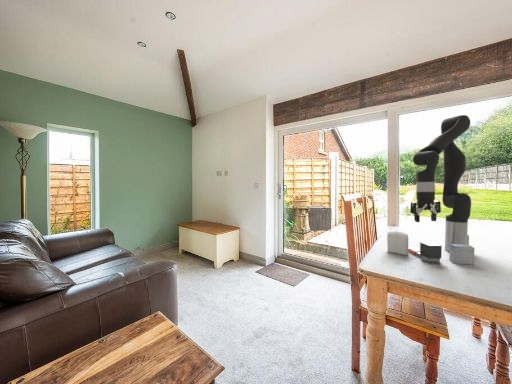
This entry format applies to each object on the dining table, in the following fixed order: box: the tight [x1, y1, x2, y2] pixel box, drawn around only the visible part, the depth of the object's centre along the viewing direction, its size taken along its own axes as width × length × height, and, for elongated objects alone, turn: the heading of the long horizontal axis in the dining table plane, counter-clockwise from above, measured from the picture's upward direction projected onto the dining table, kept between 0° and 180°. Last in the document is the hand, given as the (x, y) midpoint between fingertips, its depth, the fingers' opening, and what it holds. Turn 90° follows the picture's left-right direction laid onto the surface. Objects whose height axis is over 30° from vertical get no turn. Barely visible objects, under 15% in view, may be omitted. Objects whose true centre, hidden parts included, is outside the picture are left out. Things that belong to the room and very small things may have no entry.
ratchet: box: [408, 247, 441, 265], centre depth 115 cm, size 8×18×6 cm, turn 0°
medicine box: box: [448, 244, 475, 265], centre depth 106 cm, size 8×4×9 cm, turn 71°
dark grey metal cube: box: [419, 241, 443, 259], centre depth 109 cm, size 6×6×6 cm
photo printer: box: [387, 230, 409, 256], centre depth 122 cm, size 10×4×12 cm, turn 39°
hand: (425, 221), depth 112 cm, fingers open, 8 cm apart
